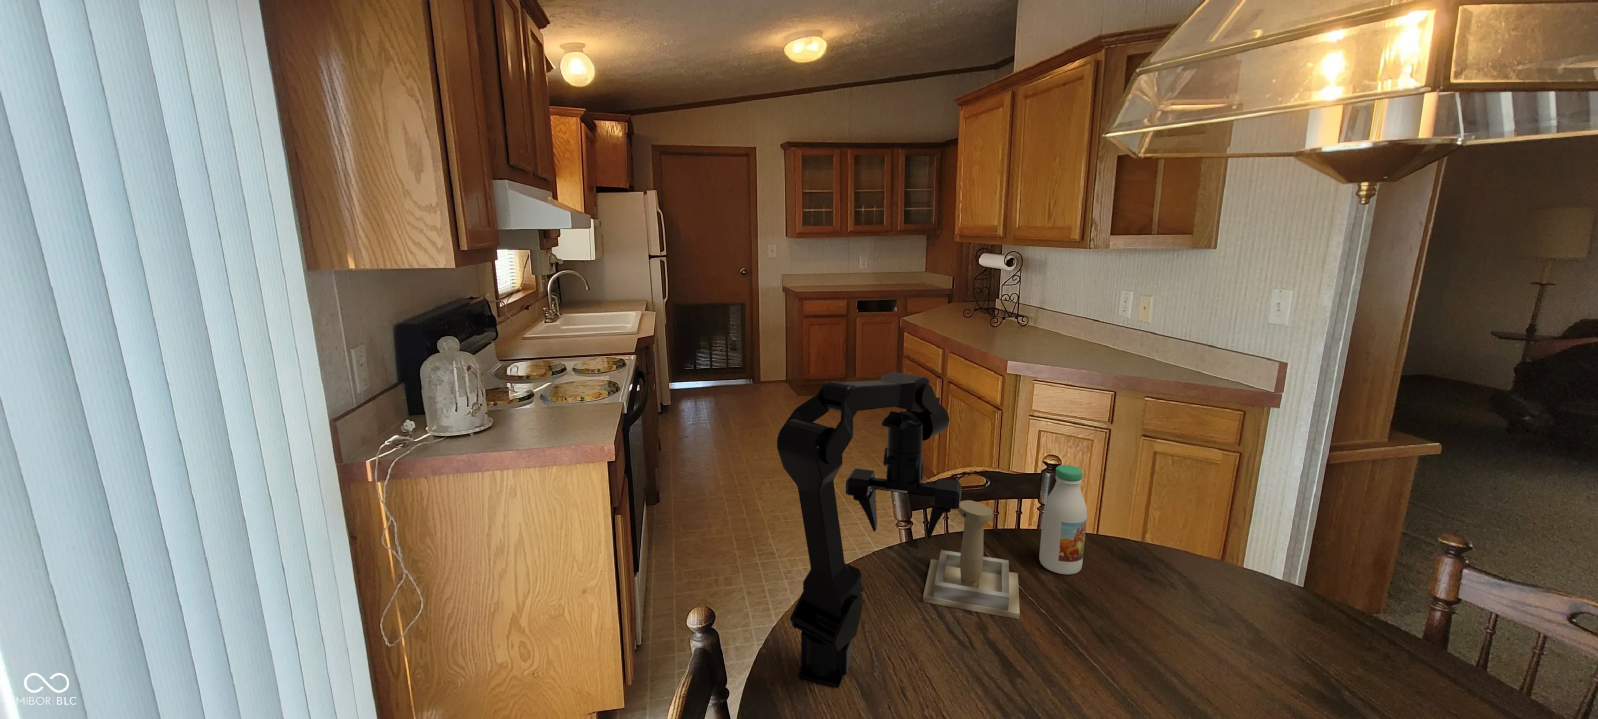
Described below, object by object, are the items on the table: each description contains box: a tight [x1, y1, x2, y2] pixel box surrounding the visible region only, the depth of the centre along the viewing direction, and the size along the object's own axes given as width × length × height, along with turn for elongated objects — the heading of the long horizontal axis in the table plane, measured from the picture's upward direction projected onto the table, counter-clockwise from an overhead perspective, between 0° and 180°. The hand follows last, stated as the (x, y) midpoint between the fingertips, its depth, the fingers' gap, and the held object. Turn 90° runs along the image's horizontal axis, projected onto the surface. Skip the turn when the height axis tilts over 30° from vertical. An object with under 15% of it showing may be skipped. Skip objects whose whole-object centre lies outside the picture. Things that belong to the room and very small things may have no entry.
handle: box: [957, 499, 994, 588], centre depth 109 cm, size 5×6×15 cm
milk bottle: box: [1038, 464, 1088, 575], centre depth 117 cm, size 8×8×20 cm
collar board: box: [922, 549, 1021, 620], centre depth 111 cm, size 16×13×4 cm
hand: (901, 534), depth 105 cm, fingers open, 9 cm apart
